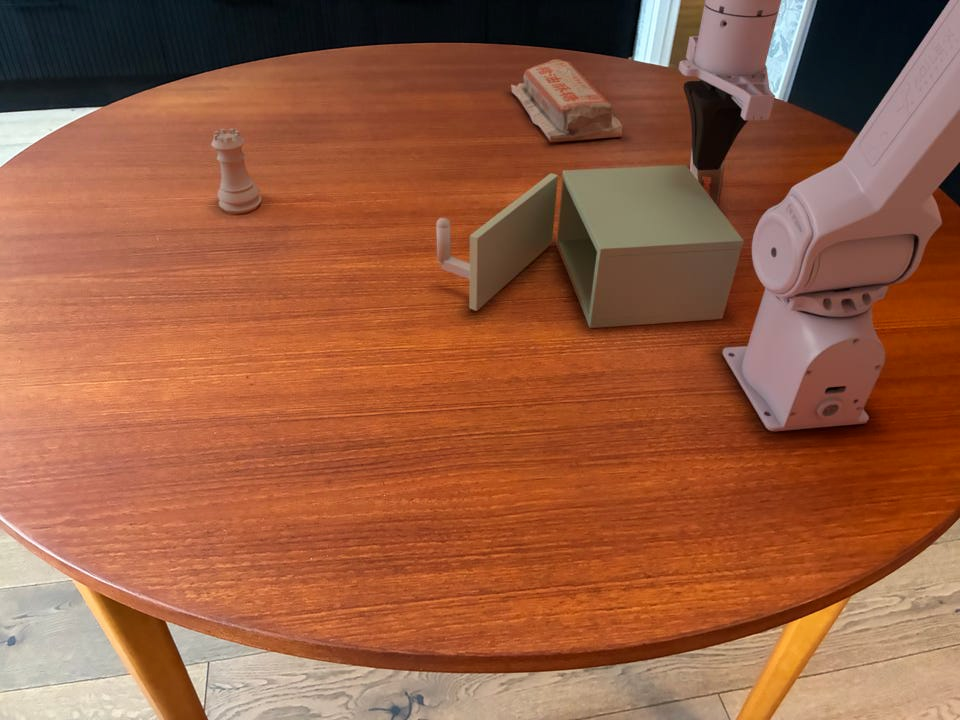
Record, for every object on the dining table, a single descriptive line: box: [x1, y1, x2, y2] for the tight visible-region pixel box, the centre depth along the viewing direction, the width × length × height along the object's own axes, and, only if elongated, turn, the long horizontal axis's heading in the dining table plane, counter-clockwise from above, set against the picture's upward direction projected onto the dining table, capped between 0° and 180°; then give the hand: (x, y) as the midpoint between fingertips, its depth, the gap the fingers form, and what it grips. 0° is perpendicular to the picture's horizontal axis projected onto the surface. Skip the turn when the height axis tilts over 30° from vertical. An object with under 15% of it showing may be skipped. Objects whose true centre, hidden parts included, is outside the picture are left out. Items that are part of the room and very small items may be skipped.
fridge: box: [555, 164, 744, 329], centre depth 69 cm, size 12×14×8 cm
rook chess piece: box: [210, 127, 262, 215], centre depth 79 cm, size 4×4×8 cm
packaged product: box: [510, 58, 624, 143], centre depth 100 cm, size 18×5×10 cm
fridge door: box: [435, 172, 559, 312], centre depth 70 cm, size 5×14×7 cm, turn 147°
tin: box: [689, 147, 726, 207], centre depth 82 cm, size 15×3×8 cm, turn 168°
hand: (705, 166), depth 69 cm, fingers closed
